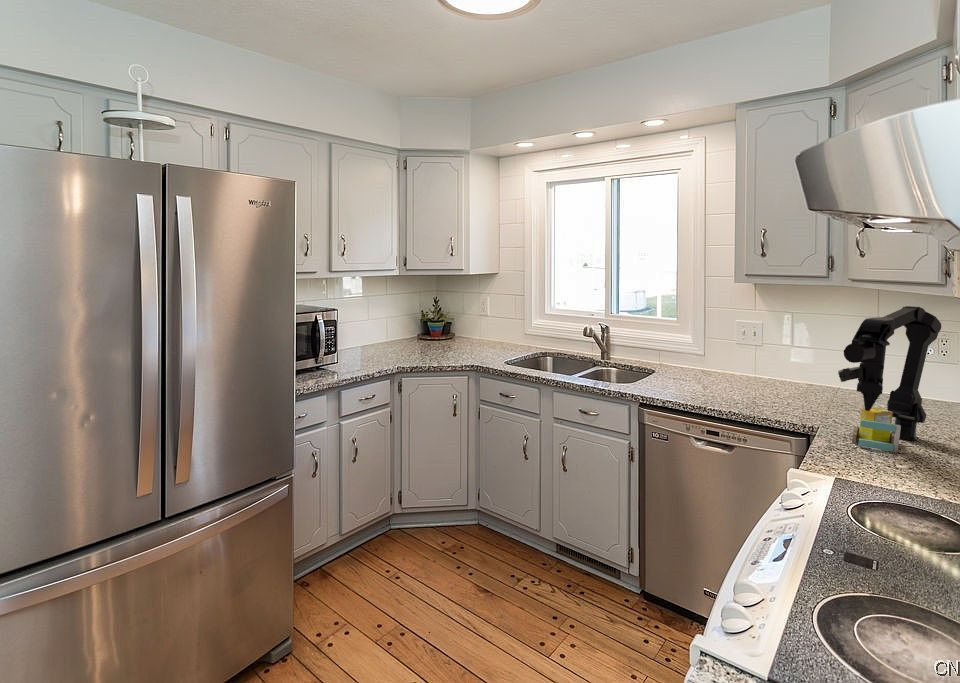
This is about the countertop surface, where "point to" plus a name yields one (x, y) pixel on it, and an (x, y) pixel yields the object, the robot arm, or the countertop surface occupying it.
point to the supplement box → (876, 416)
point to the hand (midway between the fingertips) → (867, 410)
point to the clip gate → (881, 427)
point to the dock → (856, 435)
